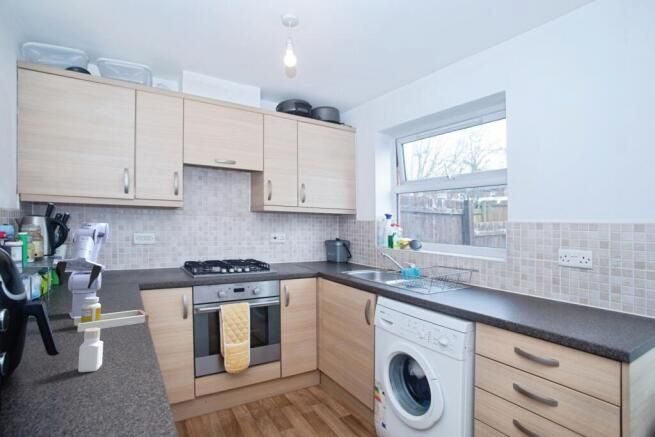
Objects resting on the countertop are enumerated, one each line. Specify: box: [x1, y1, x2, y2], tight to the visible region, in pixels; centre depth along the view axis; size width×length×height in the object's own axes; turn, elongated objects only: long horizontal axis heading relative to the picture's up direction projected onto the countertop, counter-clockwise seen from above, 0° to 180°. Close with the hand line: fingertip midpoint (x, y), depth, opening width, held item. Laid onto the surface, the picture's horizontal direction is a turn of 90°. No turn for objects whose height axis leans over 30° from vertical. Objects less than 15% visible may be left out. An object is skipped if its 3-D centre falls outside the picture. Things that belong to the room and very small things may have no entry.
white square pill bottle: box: [77, 328, 104, 373], centre depth 81 cm, size 4×4×10 cm
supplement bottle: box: [81, 296, 102, 323], centre depth 115 cm, size 5×5×10 cm
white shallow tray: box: [73, 309, 150, 333], centre depth 119 cm, size 10×21×2 cm, turn 132°
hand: (75, 285), depth 110 cm, fingers open, 7 cm apart
